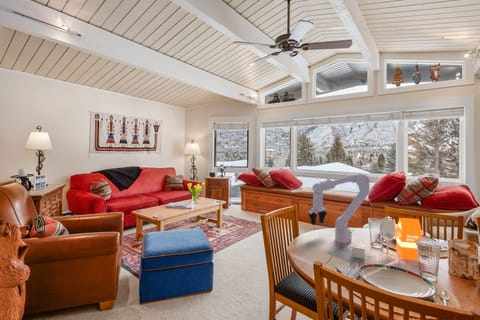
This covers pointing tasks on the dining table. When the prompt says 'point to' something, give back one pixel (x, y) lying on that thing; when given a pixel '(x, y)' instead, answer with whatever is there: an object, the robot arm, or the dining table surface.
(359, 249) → the white piece
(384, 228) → the wineglass
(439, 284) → the dining table surface
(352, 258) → the shaft base
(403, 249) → the orange juice
